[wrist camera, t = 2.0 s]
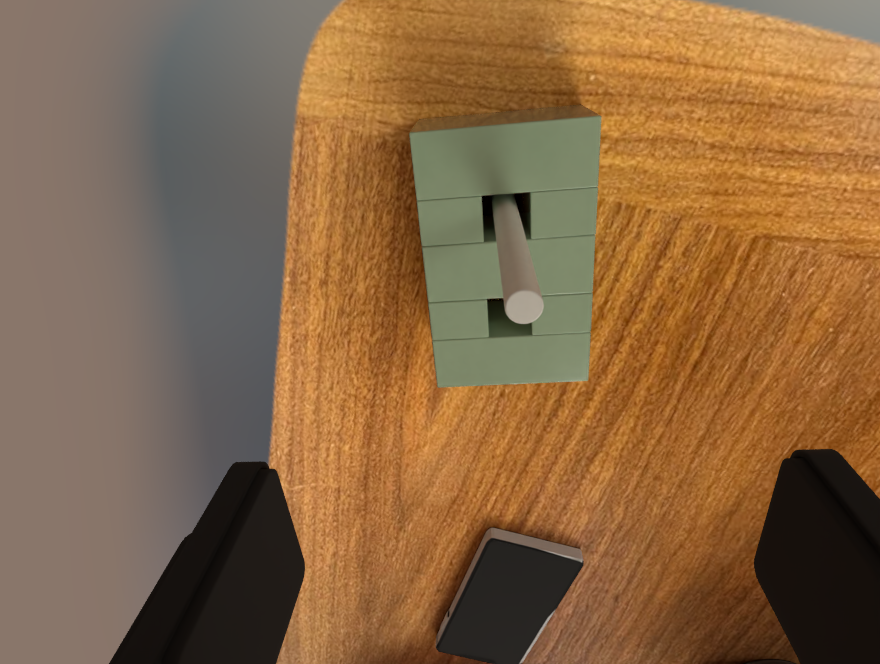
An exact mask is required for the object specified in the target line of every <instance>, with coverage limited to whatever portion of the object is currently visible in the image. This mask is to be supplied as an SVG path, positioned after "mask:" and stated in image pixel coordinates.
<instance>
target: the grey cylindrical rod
mask: <svg viewBox="0 0 880 664" xmlns="http://www.w3.org/2000/svg"><path fill="white" fill-rule="evenodd" d="M491 201H492V209H493V217H494V226H495V234H496V242H497V250H498V258H499V267H500V275H501V283H502V291H503V300H504V308H505V313H506V315H507V316H508V317H509V319H511V320H512V321H514V322H516V323H519V324H528V323H531V322H533V321H535V320H536V319H538V318H539V316H540V315H541V314H542V311H543V308H544V303H543V299H542V295H541V292H540V288H539V284H538V281H537V277H536V273H535V270H534V266H533V262H532V259H531V255H530V251H529V248H528V244H527V240H526V237H525V233H524V229H523V226H522V222H521V218H520V215H519V211H518V207H517V204H516V200H515V197H514V193H512V194H499V195H492V196H491Z"/></svg>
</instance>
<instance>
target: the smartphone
mask: <svg viewBox="0 0 880 664" xmlns="http://www.w3.org/2000/svg"><path fill="white" fill-rule="evenodd" d="M582 567H583V557H582V552H581V550H580V549H578V548H574V547H570V546H566V545H562V544H558V543H554V542H550V541H545V540H541V539H537V538H533V537H529V536H525V535H521V534H517V533H513V532H509V531H505V530H501V529H497V528H490V529H489V530H487V531H486V533H485V535H484V537H483V539H482V541H481V543H480V546H479V548H478V550H477V552H476V554H475V556H474V558H473V560H472V562H471V565H470V567H469V569H468V571H467V573H466V575H465V577H464V579H463V581H462V583H461V586H460V588H459V590H458V592H457V594H456V596H455V598H454V600H453V602H452V605H451V607H450V609H449V611H447V613H446V615H445V617H444V620H443V622H442V624H441V626H440V630H439V632H438V634H437V636H436V649H437V650H438V651H439V652H443V653H447V654H451V655H456V656H460V657H465V658H469V659H474V660H478V661H483V662H487V663H492V664H522V662H523V661H524V659H525V657H526V656H527V654H528V653H529V651H530V650H531V648H532V647H533V645H534V643H535V642H536V640H537V639H538V637H539V635H540V634H541V632H542V630H543V629H544V627H545V626H546V624H547V622H548V621H549V619H550V618H551V616H552V614H553V613H554V611H555V610H556V608H557V606H558V605H559V603H560V602H561V600H562V599H563V597H564V595H565V594H566V592H567V591H568V589H569V587H570V586H571V584H572V583H573V581H574V579H575V578H576V576H577V575H578V573H579V571H580V570H581V568H582Z"/></svg>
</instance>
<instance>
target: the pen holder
mask: <svg viewBox="0 0 880 664" xmlns="http://www.w3.org/2000/svg"><path fill="white" fill-rule="evenodd" d="M600 135H601V116H600V115H598V114H597V113H595V112H593V111H592V110H590V109H588V108H586V107H585V106H583V105H573V106H562V107H551V108H540V109H529V110H518V111H506V112H495V113H484V114H473V115H462V116H451V117H440V118H429V119H419V120H418V121H417V123H416V124H415V125H414V127H413V128H412V130H411V131H410V133H409V137H410V146H411V155H412V164H413V173H414V182H415V191H416V199H417V210H418V219H419V228H420V236H421V245H422V254H423V263H424V272H425V281H426V290H427V299H428V308H429V317H430V326H431V335H432V344H433V353H434V362H435V371H436V380H437V387H460V386H482V385H504V384H527V383H549V382H571V381H588V377H589V356H590V336H591V333H590V331H591V317H592V297H593V294H592V291H593V274H594V254H595V234H596V217H597V197H598V187H597V186H598V175H599V155H600ZM512 193H523V213H519V215H520V218H521V222H522V226H523V229H524V233H525V237H526V240H527V244H528V248H529V251H530V255H531V259H532V262H533V266H534V270H535V273H536V277H537V281H538V284H539V288H540V292H541V295H542V299H543V303H544V308H543V311H542V314H541V315H540V316H539V318H538V319H536V320H535V321H533V322H531V323H528V324H519V323H516V322H514V321H512V320H511V319H509V317H508V316H507V315H506V313H505V308H504V301H488V302H487V299H493V298H503V291H502V283H501V275H500V267H499V258H498V250H497V242H496V234H495V226H494V217H493V215H487V216H483V212H482V196H486V195H499V194H512Z"/></svg>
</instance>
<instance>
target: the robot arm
mask: <svg viewBox="0 0 880 664" xmlns="http://www.w3.org/2000/svg"><path fill="white" fill-rule="evenodd" d="M754 568H755V573H756V577H757V579H758V581H759V583H760V585H761V587H762V589H763V591H764V593H765V595H766V597H767V599H768V601H769V603H770V605H771V607H772V609H773V611H774V612H775V614H776V616H777V618H778V620H779V622H780V624H781V626H782V628H783V630H784V632H785V634H786V636H787V638H788V640H789V642H790V644H791V645H792V647H793V649H794V651H795V653H796V655H797V657H798V659H799V661H800V663H801V664H880V499H879V498H878V497H877V496H876V494H875V493H874V492H873V491H872V490H871V489H870V488H869V486H868V485H867V484H866V483H865V482H864V481H863V480H862V478H861V477H860V476H859V475H858V474H857V473H856V471H855V470H854V469H853V468H852V467H851V466H850V465H849V463H848V462H847V461H846V460H845V459H844V458H843V457H842V455H840V454H839V453H838V452H837V451H835V450H833V449H815V450H795V451H794V452H793V453H792V455H791V457H790V458H787V459H784V460H783V461H782V464H781V467H780V470H779V474H778V477H777V481H776V484H775V488H774V491H773V495H772V498H771V502H770V505H769V509H768V513H767V516H766V520H765V523H764V527H763V530H762V534H761V537H760V541H759V544H758V548H757V551H756V555H755V559H754ZM304 573H305V563H304V558H303V555H302V552H301V548H300V545H299V542H298V539H297V535H296V532H295V529H294V525H293V522H292V519H291V516H290V512H289V509H288V506H287V503H286V499H285V496H284V493H283V489H282V486H281V483H280V480H279V476H278V473H277V471H276V470H275V469H269V466H268V464H267V463H266V462H236V463H234V464H233V465H232V466H231V467H230V469H229V470H228V472H227V474H226V475H225V477H224V479H223V480H222V482H221V484H220V486H219V488H218V489H217V491H216V492H215V494H214V496H213V498H212V500H211V501H210V503H209V505H208V506H207V508H206V510H205V511H204V513H203V515H202V517H201V518H200V520H199V522H198V523H197V525H196V527H195V528H194V530H193V532H192V533H191V534H189V535H188V536H187V537H185V538H184V540H183V541H182V542H181V544H180V545H179V547H178V549H177V551H176V552H175V554H174V555H173V557H172V559H171V560H170V562H169V564H168V566H167V567H166V569H165V570H164V572H163V574H162V575H161V577H160V579H159V580H158V582H157V584H156V586H155V587H154V589H153V591H152V592H151V594H150V596H149V597H148V599H147V601H146V602H145V604H144V606H143V607H142V609H141V611H140V613H139V614H138V616H137V617H136V619H135V621H134V623H133V624H132V626H131V628H130V629H129V631H128V633H127V635H126V636H125V638H124V639H123V641H122V643H121V644H120V646H119V648H118V650H117V651H116V653H115V654H114V656H113V658H112V660H111V661H110V663H109V664H276V662H277V659H278V655H279V652H280V649H281V646H282V643H283V640H284V637H285V634H286V631H287V628H288V625H289V622H290V619H291V616H292V613H293V610H294V607H295V603H296V600H297V597H298V594H299V591H300V588H301V585H302V582H303V578H304Z"/></svg>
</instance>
